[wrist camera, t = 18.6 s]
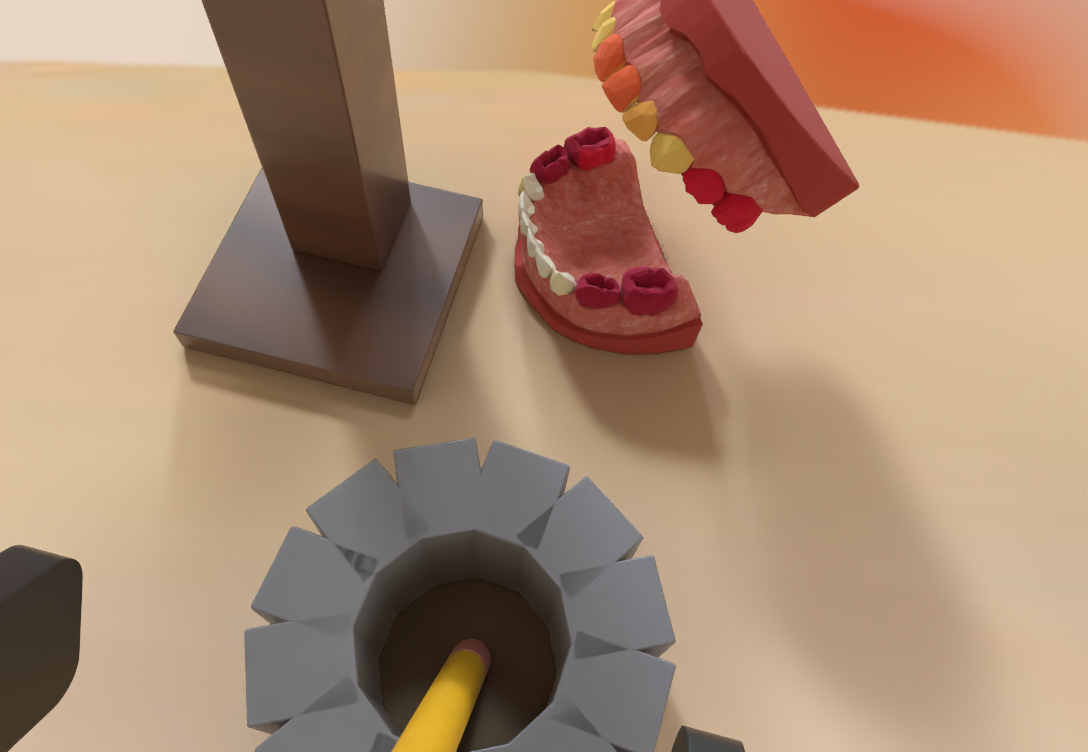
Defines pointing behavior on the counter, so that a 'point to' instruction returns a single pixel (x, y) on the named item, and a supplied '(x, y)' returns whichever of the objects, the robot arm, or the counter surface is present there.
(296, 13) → the brown pedestal stand
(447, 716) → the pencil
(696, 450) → the counter surface
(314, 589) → the grey segmented ring
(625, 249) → the anatomical model
